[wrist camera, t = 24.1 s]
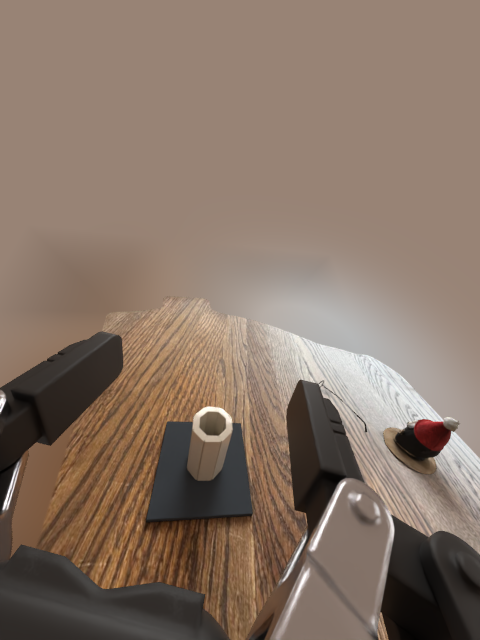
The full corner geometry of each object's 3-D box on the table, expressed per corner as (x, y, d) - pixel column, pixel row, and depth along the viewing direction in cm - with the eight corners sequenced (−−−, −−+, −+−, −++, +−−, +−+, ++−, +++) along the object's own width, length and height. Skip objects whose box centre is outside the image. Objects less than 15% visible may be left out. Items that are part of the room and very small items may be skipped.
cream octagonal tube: (185, 481, 26) (191, 441, 23) (189, 443, 31) (194, 405, 27) (222, 480, 27) (233, 442, 24) (221, 444, 32) (230, 407, 28)
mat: (146, 522, 23) (146, 520, 23) (167, 423, 33) (167, 421, 33) (251, 515, 25) (252, 513, 25) (240, 425, 36) (240, 423, 35)
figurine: (405, 403, 43) (482, 419, 32) (410, 456, 41) (494, 493, 30) (371, 402, 42) (439, 418, 30) (375, 457, 40) (449, 497, 28)
